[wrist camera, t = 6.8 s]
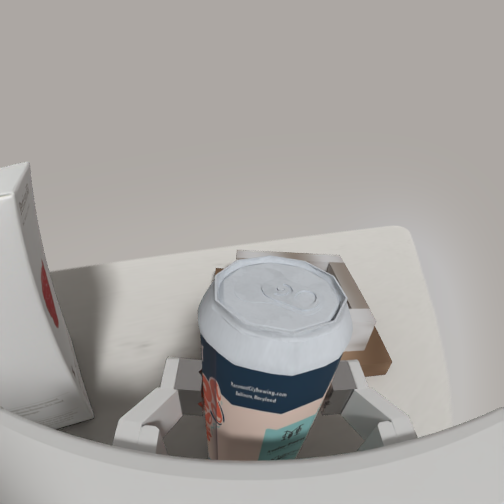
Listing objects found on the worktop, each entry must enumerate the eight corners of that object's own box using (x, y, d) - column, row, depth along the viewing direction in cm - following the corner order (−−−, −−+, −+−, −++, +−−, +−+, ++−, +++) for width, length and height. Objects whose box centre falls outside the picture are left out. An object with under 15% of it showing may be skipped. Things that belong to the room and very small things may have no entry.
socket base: (204, 379, 20) (202, 334, 18) (215, 280, 31) (216, 241, 29) (385, 374, 21) (406, 333, 19) (343, 285, 32) (353, 249, 30)
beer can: (236, 414, 17) (250, 238, 12) (305, 445, 15) (373, 277, 10) (191, 467, 13) (160, 296, 8) (267, 507, 11) (333, 374, 6)
